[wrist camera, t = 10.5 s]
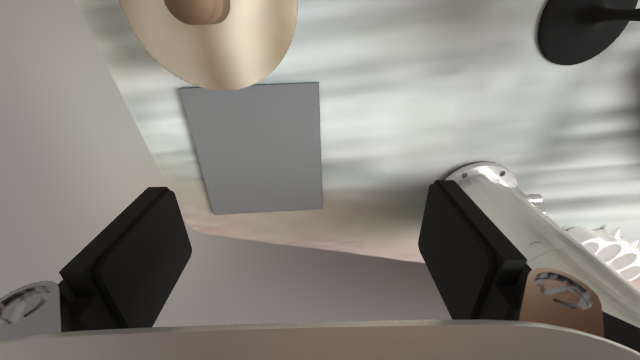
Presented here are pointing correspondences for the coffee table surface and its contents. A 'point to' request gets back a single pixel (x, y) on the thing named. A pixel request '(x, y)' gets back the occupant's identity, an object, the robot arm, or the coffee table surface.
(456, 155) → the coffee table surface
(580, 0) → the wine glass
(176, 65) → the lid
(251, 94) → the mat
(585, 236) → the white brass knuckles
